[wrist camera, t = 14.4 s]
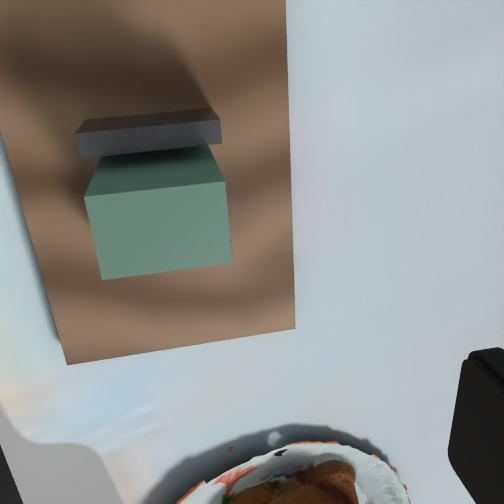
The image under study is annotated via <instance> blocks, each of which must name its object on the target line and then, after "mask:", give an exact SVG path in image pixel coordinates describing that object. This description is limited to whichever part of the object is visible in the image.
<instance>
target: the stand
mask: <svg viewBox="0 0 504 504" xmlns="http://www.w3.org/2000/svg"><path fill="white" fill-rule="evenodd" d="M0 132H1V135H2V139H3V142H4V146H5V149H6V153H7V156H8V160H9V163H10V167H11V170H12V174H13V177H14V181H15V184H16V188H17V191H18V195H19V198H20V202H21V205H22V209H23V212H24V216H25V219H26V223H27V226H28V230H29V233H30V237H31V240H32V244H33V247H34V251H35V254H36V258H37V261H38V265H39V268H40V272H41V275H42V279H43V282H44V286H45V289H46V293H47V296H48V300H49V303H50V307H51V310H52V314H53V317H54V321H55V324H56V328H57V331H58V335H59V338H60V342H61V345H62V349H63V352H64V356H65V359H66V363H67V365H72V364H78V363H85V362H91V361H97V360H103V359H110V358H116V357H122V356H128V355H134V354H141V353H147V352H153V351H159V350H166V349H172V348H178V347H184V346H191V345H197V344H203V343H209V342H215V341H222V340H228V339H234V338H240V337H247V336H253V335H259V334H265V333H271V332H278V331H284V330H290V329H295V296H294V263H293V231H292V198H291V165H290V133H289V100H288V67H287V35H286V2H285V0H0ZM203 145H209V147H210V149H211V152H212V154H213V156H214V158H215V160H216V162H217V165H218V167H219V169H220V171H221V173H222V175H223V178H224V180H225V185H226V196H227V208H228V220H229V232H230V243H231V255H232V263H228V264H221V265H213V266H206V267H198V268H191V269H183V270H176V271H168V272H161V273H153V274H146V275H138V276H131V277H123V278H116V279H108V280H102V277H101V273H100V268H99V264H98V259H97V255H96V250H95V245H94V241H93V236H92V232H91V227H90V223H89V218H88V213H87V209H86V204H85V200H84V195H85V193H86V191H87V188H88V186H89V184H90V182H91V179H92V177H93V175H94V172H95V170H96V168H97V165H98V163H99V161H100V158H101V156H108V155H117V154H127V153H137V152H146V151H156V150H165V149H175V148H184V147H194V146H203Z"/></svg>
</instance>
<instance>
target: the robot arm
mask: <svg viewBox="0 0 504 504" xmlns="http://www.w3.org/2000/svg"><path fill="white" fill-rule="evenodd" d="M448 457H449V461H450V464H451V466H452V468H453V469H454V471H455V472H456V474H457V476H458V477H459V479H460V480H461V482H462V483H463V485H464V486H465V488H466V489H467V491H468V492H469V494H470V495H471V497H472V498H473V500H474V501H475V503H476V504H504V349H502V348H499V347H496V348H489V349H483V350H477V351H473V352H471V353H470V354H469V356H468V359H466V360H464V361H463V363H462V367H461V373H460V379H459V385H458V391H457V397H456V403H455V409H454V415H453V421H452V427H451V434H450V440H449V446H448ZM0 504H23V502H22V499H21V497H20V494H19V492H18V489H17V487H16V484H15V481H14V479H13V477H12V474H11V471H10V469H9V466H8V464H7V461H6V459H5V456H4V454H3V451H2V449H1V446H0Z"/></svg>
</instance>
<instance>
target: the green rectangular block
mask: <svg viewBox="0 0 504 504" xmlns="http://www.w3.org/2000/svg"><path fill="white" fill-rule="evenodd" d="M84 200H85V204H86V209H87V213H88V218H89V223H90V227H91V232H92V236H93V241H94V245H95V250H96V255H97V259H98V264H99V268H100V273H101V277H102V280H108V279H116V278H123V277H131V276H138V275H146V274H153V273H161V272H168V271H176V270H183V269H191V268H198V267H206V266H213V265H221V264H228V263H232V255H231V243H230V232H229V220H228V208H227V196H226V185H225V180H224V178H223V175H222V173H221V171H220V169H219V167H218V165H217V162H216V160H215V158H214V156H213V154H212V152H211V149H210V147H209V145H203V146H194V147H184V148H175V149H165V150H156V151H146V152H137V153H127V154H117V155H108V156H101V158H100V161H99V163H98V165H97V168H96V170H95V172H94V175H93V177H92V179H91V182H90V184H89V186H88V188H87V191H86V193H85V195H84Z"/></svg>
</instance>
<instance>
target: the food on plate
mask: <svg viewBox="0 0 504 504" xmlns="http://www.w3.org/2000/svg"><path fill="white" fill-rule="evenodd" d="M232 448H233V447H230V448H229V449H228V450H227V451H230V450H231V449H232ZM285 449H288V450H287V451H285V452H284V453H282V454H281V455H283V456H274V453H276V452H278V451H281V450H285ZM291 464H293V465H295V466H298V467H299V466H300V465H302V468H301V469H299V470H298V471H297V473H296V474H295V475H293V476H292V477H290V478H286V477H285V476H284V474H283V473H282V474H280V475H278V476H277V475H272V476H270V477H269V478H267V479H266V480H260V479H262V478H264V477H266V476H267V475H268V474H269V473H271V472H272V471H273V470H274V469H275V468H277V467H281V466H283V467H286V466H287V465H291ZM354 483H358V486H359V487H360V489H361V492H363V493H365V494H366V495H367V499H368V500H367V501H366V502H365V504H411V503H410V500H409V498H408V496H407V495H408V493H407V488H406V486H405V485H404V484H401V483H400V481H399V479H398V476H397V473H396V470H395V468H394V469H391V466H390V465H389V464H387V463H386V462H384V461H381V460H380V458H379V456H377V455H375V454H372V455H371V456H370V455H368V454H366V453H364V452H362V451H360V450H358V449H355V448H352V447H351V446H350V445H346V446H342V445H340V444H339V443H338V442H337V441H328V442H326V443H324V442H320V441H315V442H311V441H302V442H295V443H287V446H285V447H282V448H280V449H277V450H273V451H271V452H269V453H268V454H266V455H262V456H256V457H253V458H252V459H251V460H250V461H248V462H246V463H244V464H241V465H239V466H237V467H235V468H232V469H230V470H228V471H226V472H225V473H223V474H222V475H220V476H219V477H217V478H215V479H213V480H211V481H210V482H209V483H207V484H206V483H205V481H204V480H203V481H201V482H200V483H198V485H197V486H196V487H192V488H191V489H190V490H189V491H188V492H187V493H186V494H185V495H184V496H183V497H182V498H181V499H180V500H179V501H176V504H359V503H358V497H357V494H356V490H355V485H354ZM171 504H172V503H171Z"/></svg>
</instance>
